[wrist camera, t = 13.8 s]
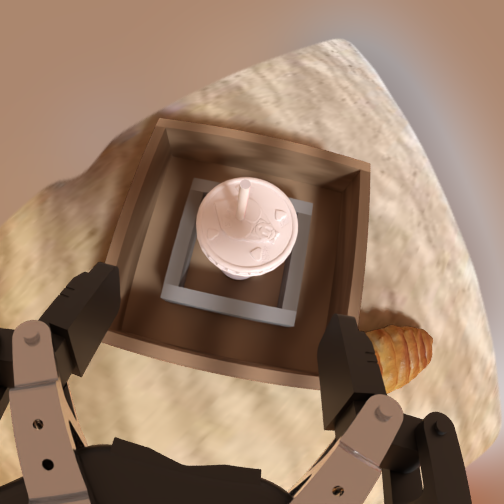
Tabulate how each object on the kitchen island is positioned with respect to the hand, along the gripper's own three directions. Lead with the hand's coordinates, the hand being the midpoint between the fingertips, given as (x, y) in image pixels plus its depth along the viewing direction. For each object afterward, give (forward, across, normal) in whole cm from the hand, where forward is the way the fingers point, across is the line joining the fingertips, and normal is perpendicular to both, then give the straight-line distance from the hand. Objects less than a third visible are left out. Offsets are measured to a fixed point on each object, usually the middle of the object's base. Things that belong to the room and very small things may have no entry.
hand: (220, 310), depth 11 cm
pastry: (+12, -17, +13) cm, 24 cm away
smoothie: (+16, 0, +7) cm, 17 cm away
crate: (+17, 0, +8) cm, 18 cm away
